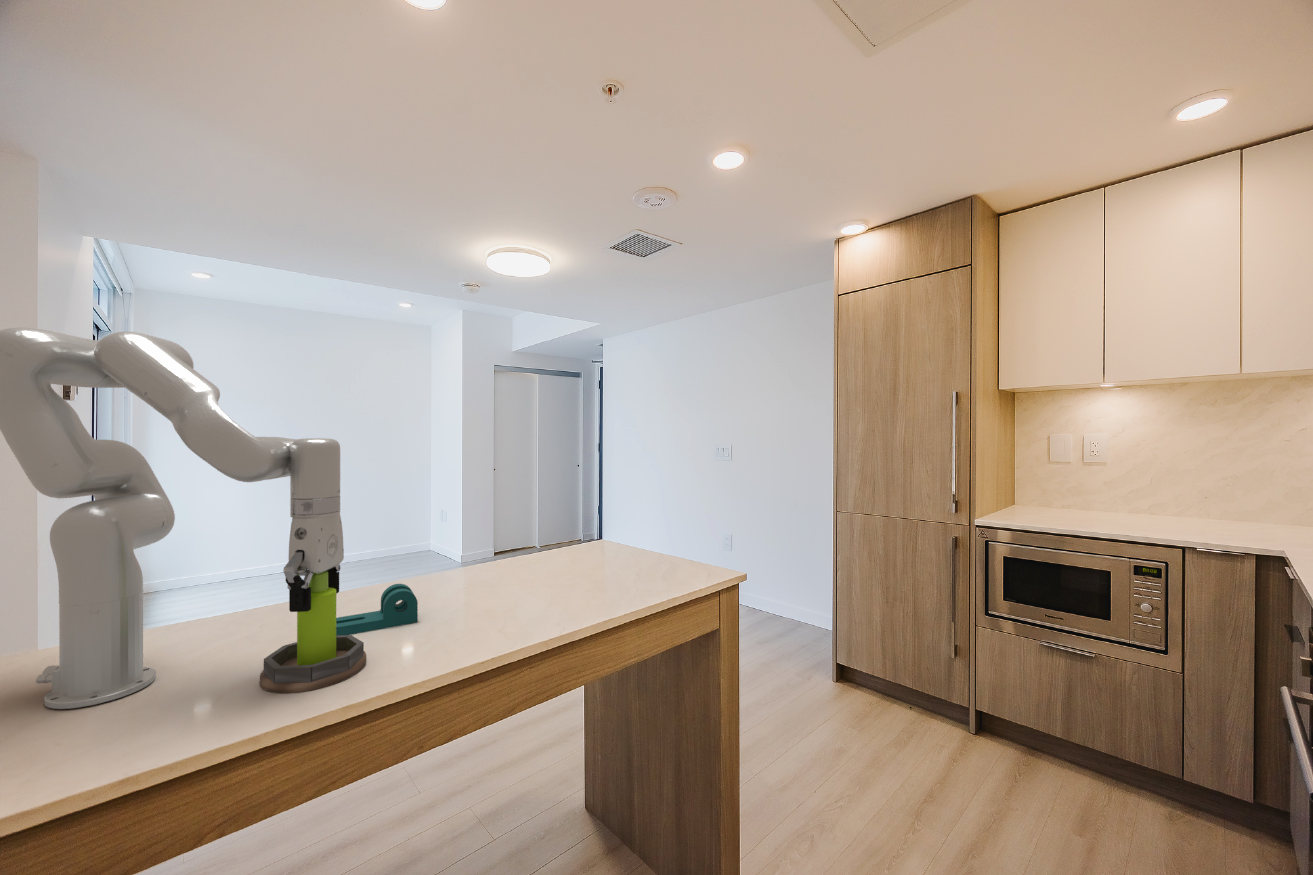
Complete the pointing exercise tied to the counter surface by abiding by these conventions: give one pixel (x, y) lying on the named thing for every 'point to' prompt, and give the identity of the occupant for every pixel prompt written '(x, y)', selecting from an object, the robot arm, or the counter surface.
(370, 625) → the bracket
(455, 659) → the counter surface
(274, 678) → the collar stand
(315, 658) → the soap dispenser
